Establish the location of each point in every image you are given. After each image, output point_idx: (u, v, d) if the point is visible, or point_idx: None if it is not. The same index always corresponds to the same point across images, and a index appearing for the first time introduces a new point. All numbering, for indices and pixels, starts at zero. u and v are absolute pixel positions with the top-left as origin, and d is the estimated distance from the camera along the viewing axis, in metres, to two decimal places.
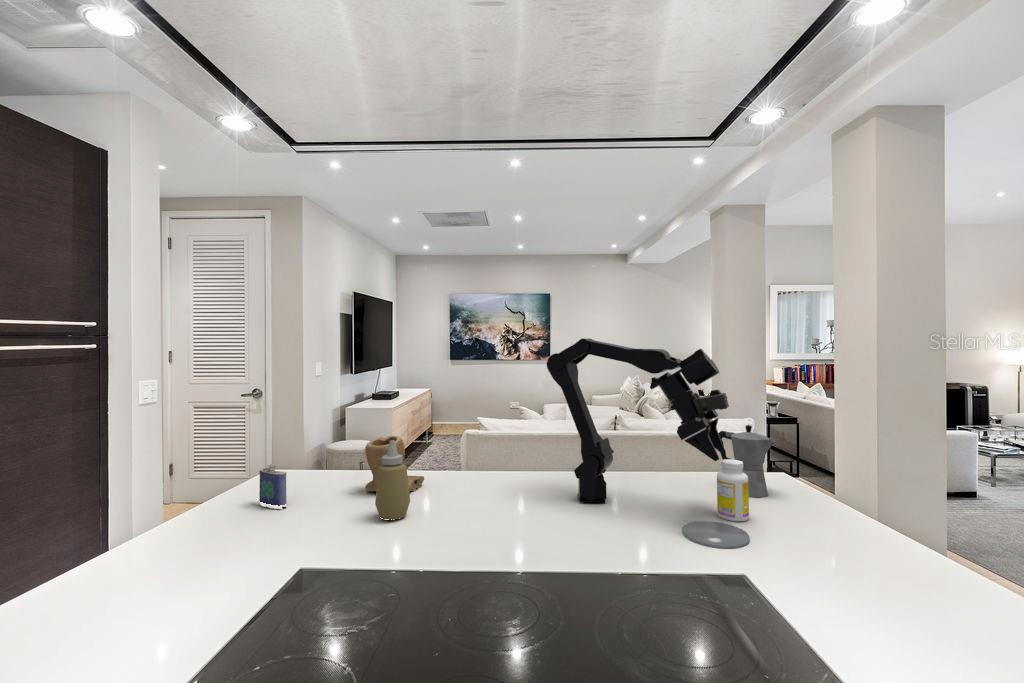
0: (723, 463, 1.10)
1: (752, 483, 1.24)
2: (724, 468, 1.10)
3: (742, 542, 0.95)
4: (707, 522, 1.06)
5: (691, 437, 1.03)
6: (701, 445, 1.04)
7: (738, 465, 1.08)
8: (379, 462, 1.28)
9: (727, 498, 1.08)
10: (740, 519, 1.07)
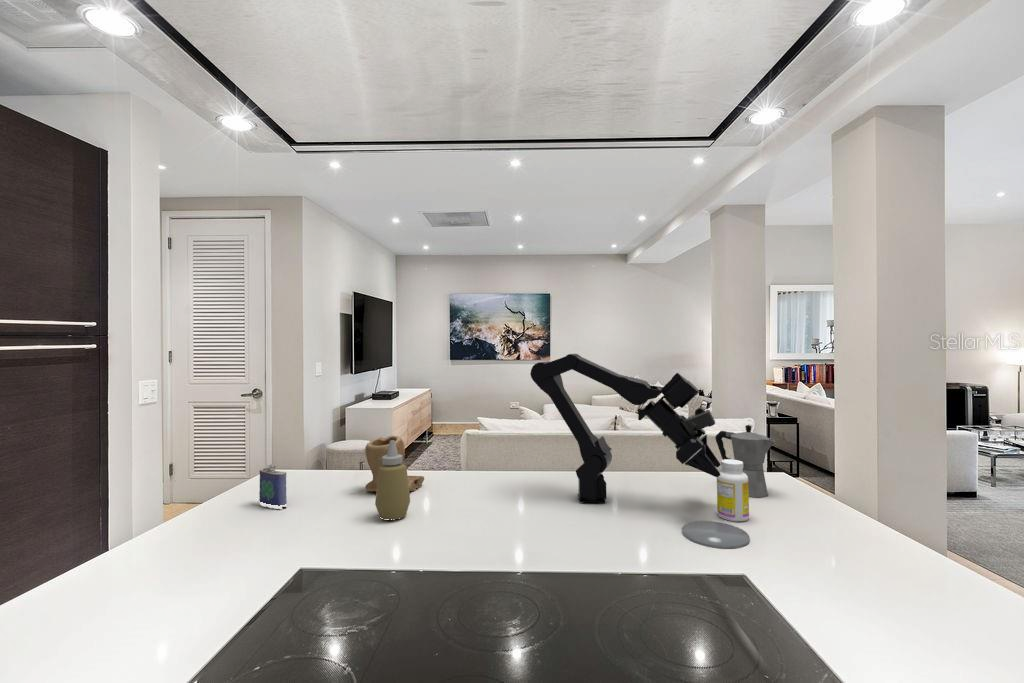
0: (723, 463, 1.10)
1: (752, 483, 1.24)
2: (724, 468, 1.10)
3: (742, 542, 0.95)
4: (707, 522, 1.06)
5: (690, 459, 1.06)
6: (701, 465, 1.08)
7: (738, 465, 1.08)
8: (379, 462, 1.28)
9: (727, 498, 1.08)
10: (740, 519, 1.07)
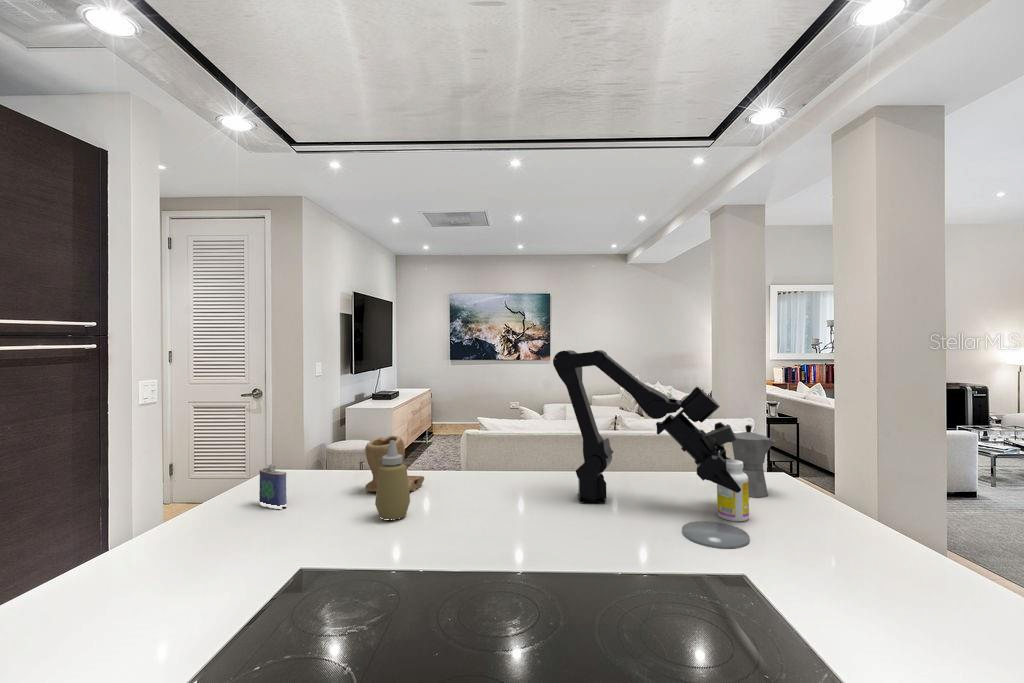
0: None
1: (752, 483, 1.24)
2: None
3: (742, 542, 0.95)
4: (707, 522, 1.06)
5: (711, 474, 1.06)
6: (721, 480, 1.07)
7: (738, 465, 1.08)
8: (379, 462, 1.28)
9: (727, 498, 1.08)
10: (740, 519, 1.07)
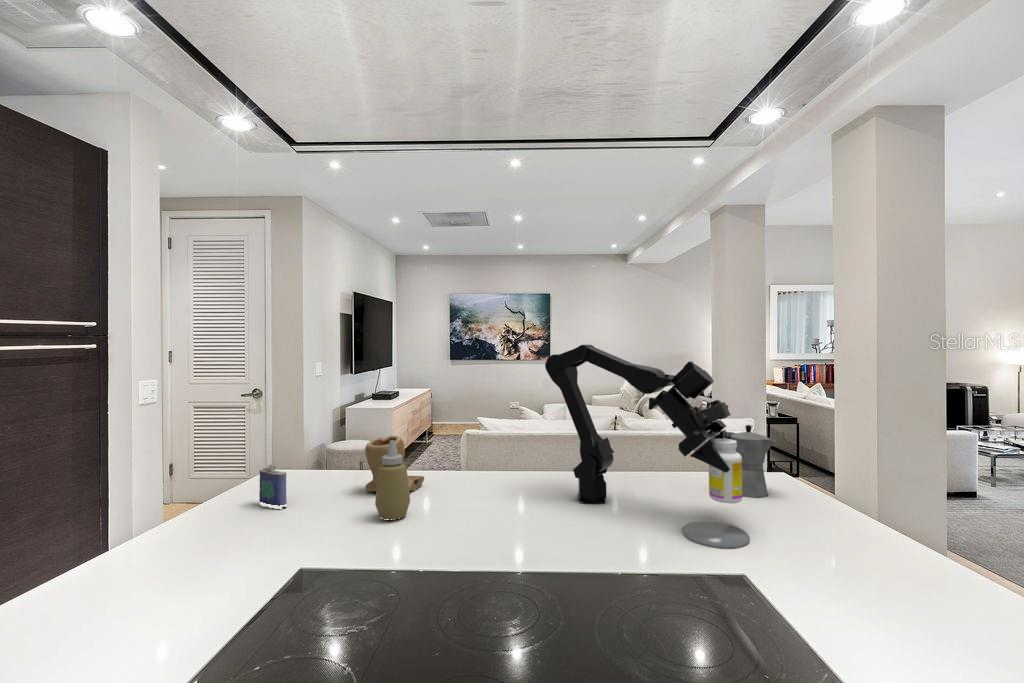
0: (714, 442, 1.04)
1: (752, 483, 1.24)
2: (715, 447, 1.04)
3: (742, 542, 0.95)
4: (707, 522, 1.06)
5: (696, 451, 1.01)
6: (708, 458, 1.02)
7: (729, 444, 1.02)
8: (379, 462, 1.28)
9: (716, 478, 1.02)
10: (729, 501, 1.01)
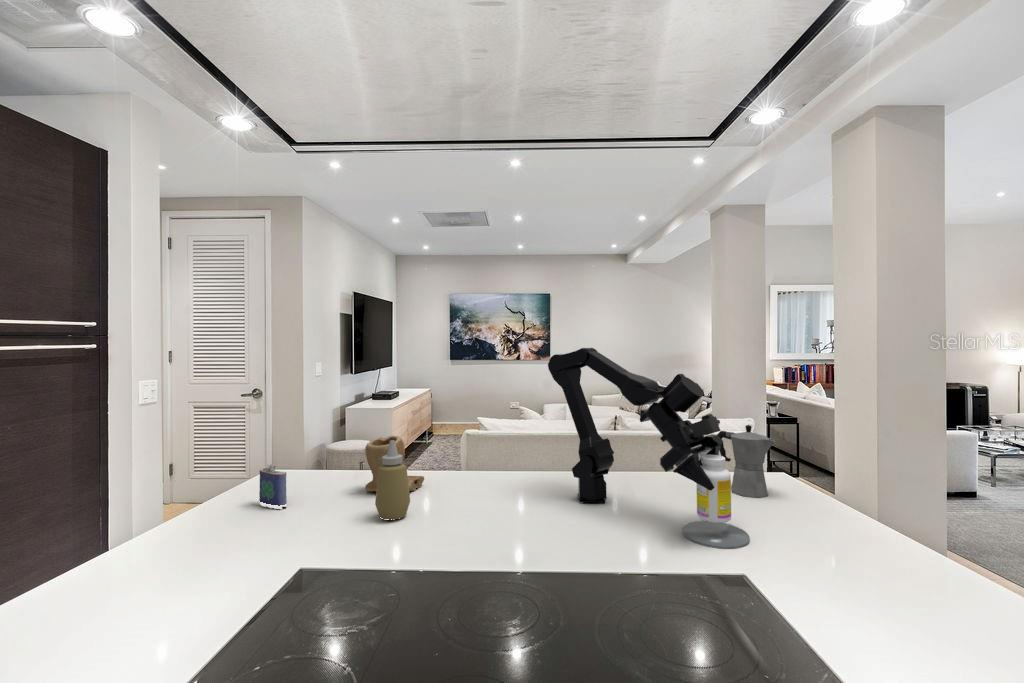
0: (701, 458, 1.01)
1: (752, 483, 1.24)
2: (702, 463, 1.00)
3: (742, 542, 0.95)
4: (707, 522, 1.06)
5: (678, 467, 0.99)
6: (692, 474, 0.99)
7: (715, 461, 0.98)
8: (379, 462, 1.28)
9: (701, 496, 0.99)
10: (714, 520, 0.97)
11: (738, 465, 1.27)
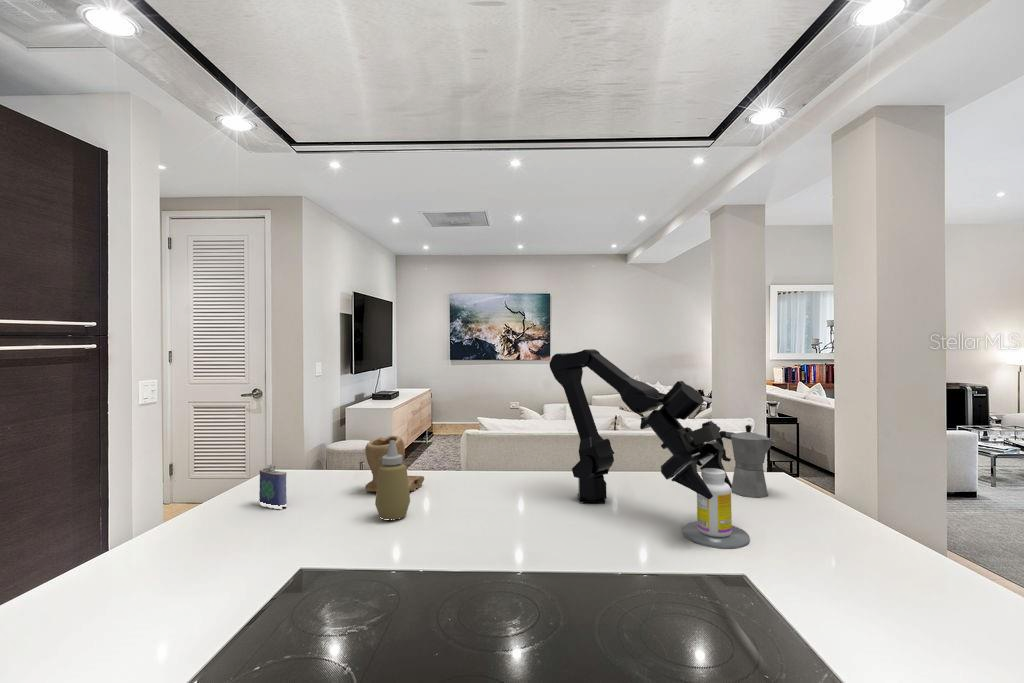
0: (701, 471, 1.01)
1: (752, 483, 1.24)
2: (702, 477, 1.01)
3: (742, 542, 0.95)
4: None
5: (676, 475, 0.98)
6: (691, 483, 0.98)
7: (715, 475, 0.98)
8: (379, 462, 1.28)
9: (702, 509, 0.99)
10: (715, 534, 0.97)
11: (738, 465, 1.27)
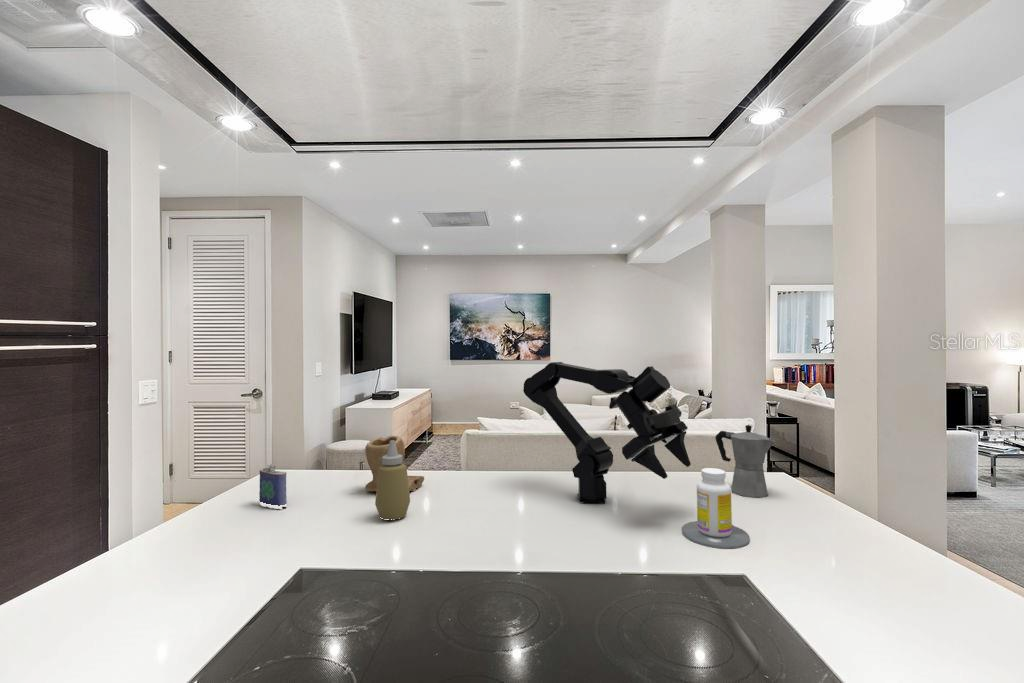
0: (701, 471, 1.01)
1: (752, 483, 1.24)
2: (702, 477, 1.01)
3: (742, 542, 0.95)
4: None
5: (635, 457, 1.06)
6: (648, 463, 1.06)
7: (715, 475, 0.98)
8: (379, 462, 1.28)
9: (702, 509, 0.99)
10: (715, 535, 0.97)
11: (738, 465, 1.27)
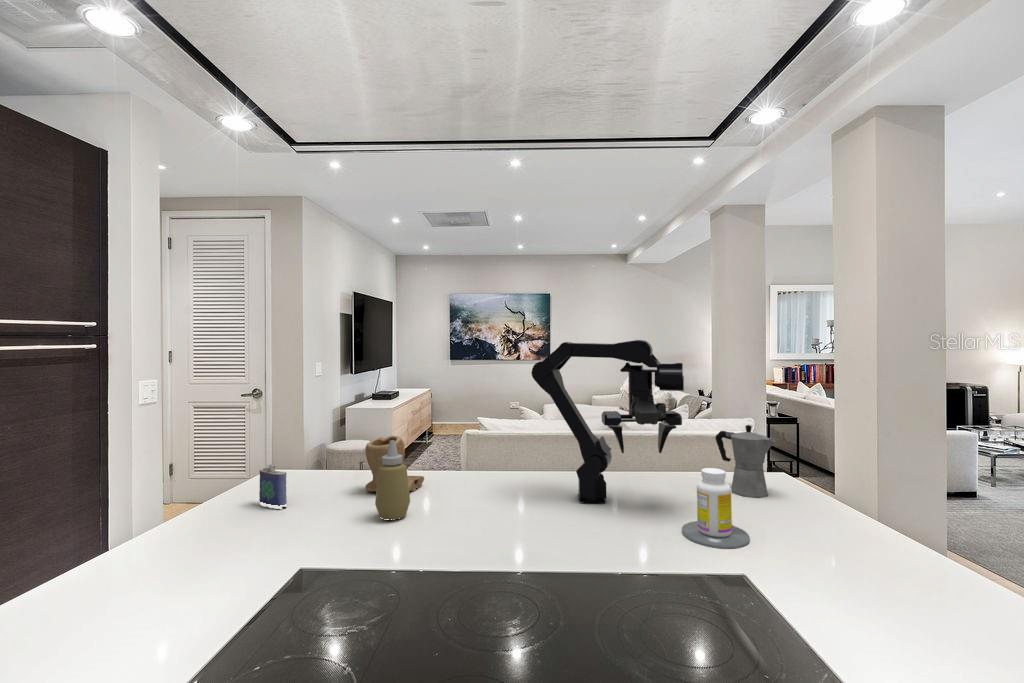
0: (701, 471, 1.01)
1: (752, 483, 1.24)
2: (702, 476, 1.01)
3: (742, 542, 0.95)
4: None
5: None
6: (616, 435, 1.20)
7: (715, 475, 0.98)
8: (379, 462, 1.28)
9: (702, 509, 0.99)
10: (715, 534, 0.97)
11: (738, 465, 1.27)
